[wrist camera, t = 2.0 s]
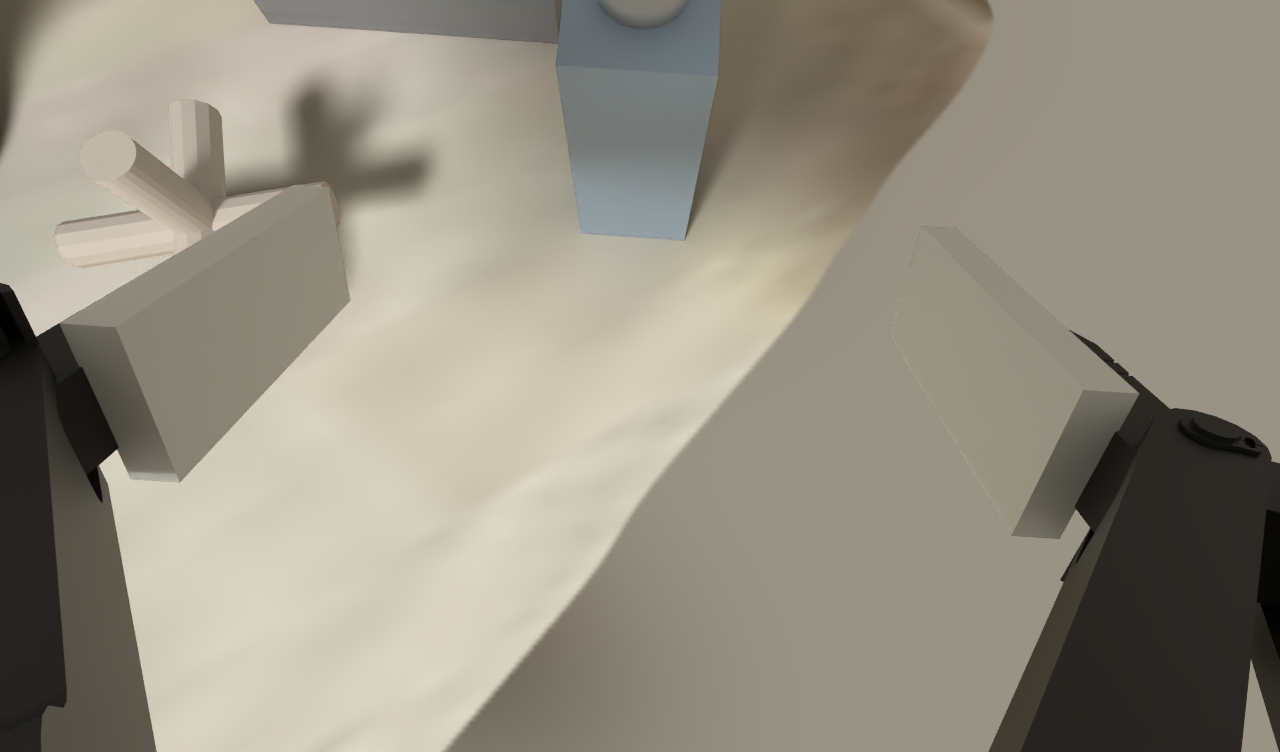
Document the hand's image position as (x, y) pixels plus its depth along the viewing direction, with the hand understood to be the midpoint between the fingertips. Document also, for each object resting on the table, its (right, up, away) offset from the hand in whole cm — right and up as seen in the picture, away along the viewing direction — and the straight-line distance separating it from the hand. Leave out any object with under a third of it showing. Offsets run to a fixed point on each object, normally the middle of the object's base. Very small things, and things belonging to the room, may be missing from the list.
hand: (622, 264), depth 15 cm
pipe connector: (-17, +2, +16) cm, 24 cm away
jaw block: (0, +7, +18) cm, 19 cm away
